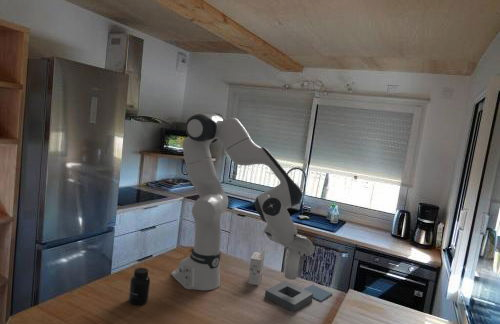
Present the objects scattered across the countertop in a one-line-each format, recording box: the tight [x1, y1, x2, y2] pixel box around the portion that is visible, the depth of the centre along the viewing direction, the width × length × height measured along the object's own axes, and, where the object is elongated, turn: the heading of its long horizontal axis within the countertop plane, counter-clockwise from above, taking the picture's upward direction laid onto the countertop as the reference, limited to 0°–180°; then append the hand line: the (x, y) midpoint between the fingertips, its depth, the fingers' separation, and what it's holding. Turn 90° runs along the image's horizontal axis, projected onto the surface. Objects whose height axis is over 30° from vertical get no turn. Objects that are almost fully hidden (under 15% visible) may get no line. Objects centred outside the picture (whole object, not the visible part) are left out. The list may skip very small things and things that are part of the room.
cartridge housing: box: [264, 280, 314, 313], centre depth 140 cm, size 14×14×3 cm
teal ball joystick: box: [283, 248, 301, 281], centre depth 138 cm, size 5×5×14 cm
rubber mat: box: [303, 284, 333, 303], centre depth 147 cm, size 10×10×1 cm
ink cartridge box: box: [248, 247, 266, 286], centre depth 152 cm, size 9×5×15 cm, turn 168°
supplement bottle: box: [128, 267, 151, 306], centre depth 124 cm, size 7×7×12 cm
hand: (295, 250), depth 138 cm, fingers closed on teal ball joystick, 5 cm apart
